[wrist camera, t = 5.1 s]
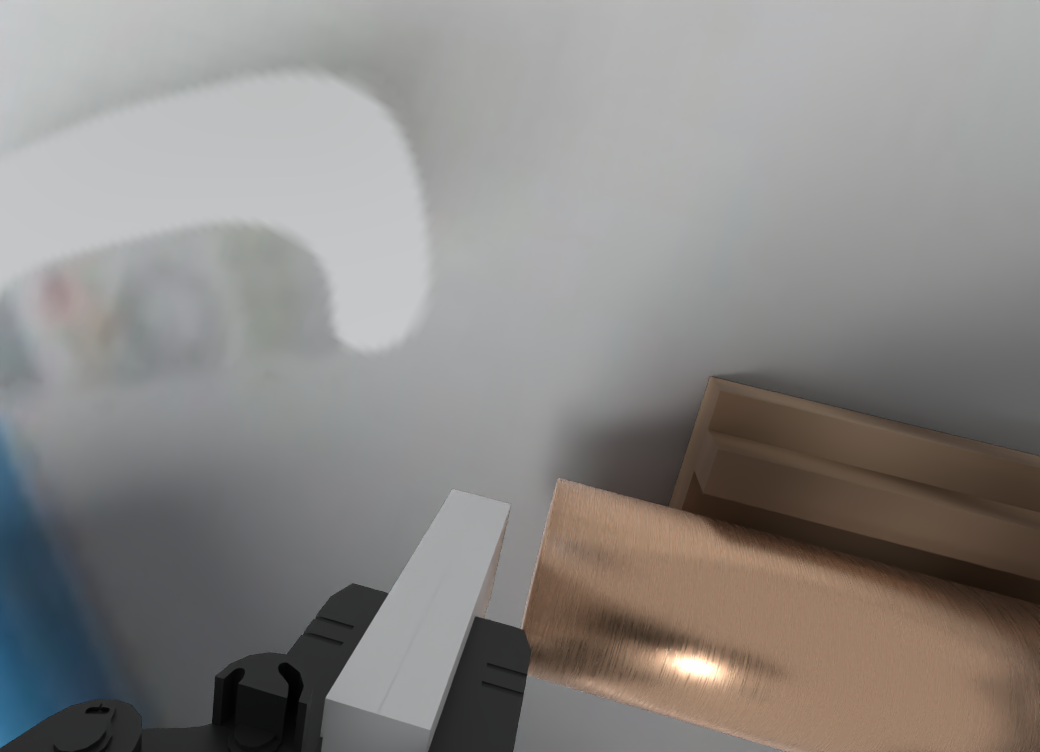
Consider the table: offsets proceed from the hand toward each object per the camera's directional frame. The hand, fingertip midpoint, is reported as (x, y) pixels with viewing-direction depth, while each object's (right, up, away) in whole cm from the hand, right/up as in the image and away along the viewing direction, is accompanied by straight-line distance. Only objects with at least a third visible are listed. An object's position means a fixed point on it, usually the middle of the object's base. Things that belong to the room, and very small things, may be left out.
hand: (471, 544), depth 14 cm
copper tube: (+12, -2, +1) cm, 12 cm away
